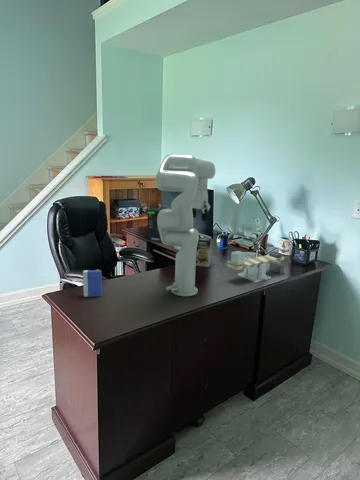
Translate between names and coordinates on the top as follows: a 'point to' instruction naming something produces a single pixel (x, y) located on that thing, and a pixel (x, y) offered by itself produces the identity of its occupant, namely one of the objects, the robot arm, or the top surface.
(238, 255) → the block
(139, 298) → the top surface
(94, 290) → the walkman
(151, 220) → the headset box
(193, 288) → the robot arm
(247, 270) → the beam stand
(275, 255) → the beam
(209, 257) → the coffee box
